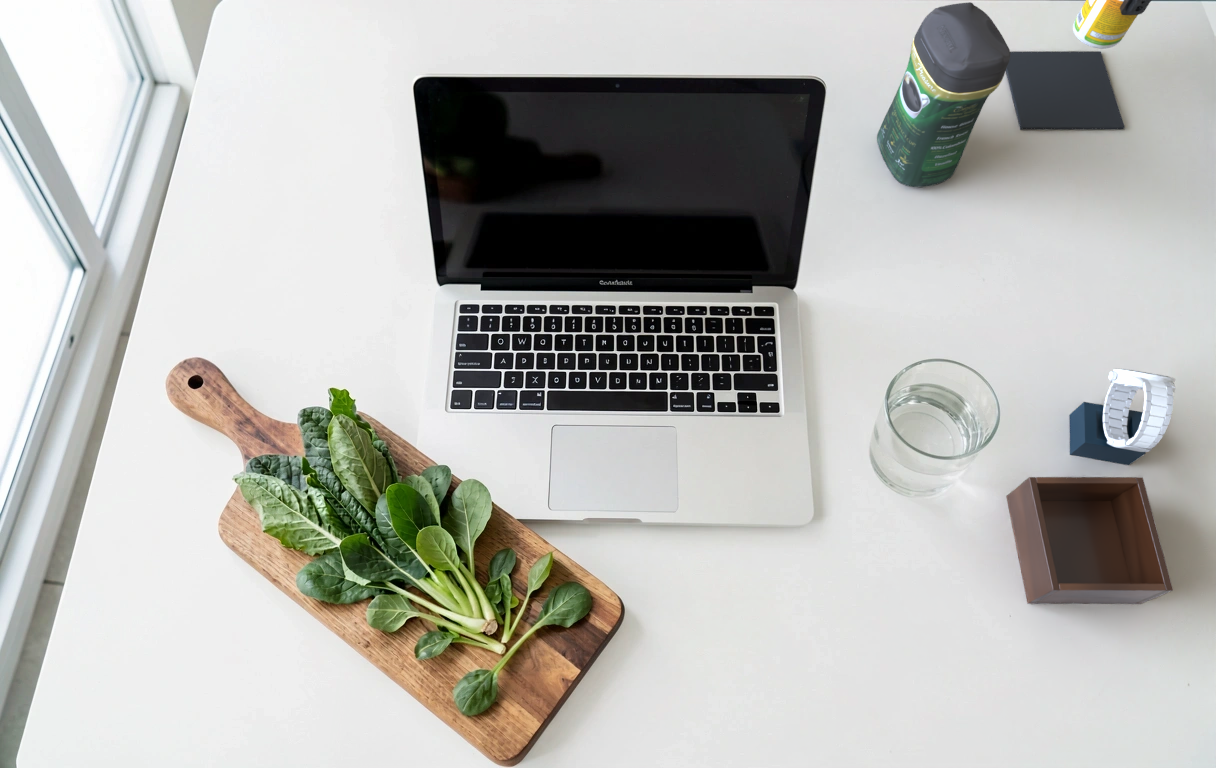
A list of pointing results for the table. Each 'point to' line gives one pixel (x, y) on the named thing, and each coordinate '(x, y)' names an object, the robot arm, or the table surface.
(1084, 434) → the watch
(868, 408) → the table surface
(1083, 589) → the wooden box
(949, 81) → the coffee jar
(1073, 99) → the mat
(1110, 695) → the table surface
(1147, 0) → the robot arm
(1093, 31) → the supplement bottle
